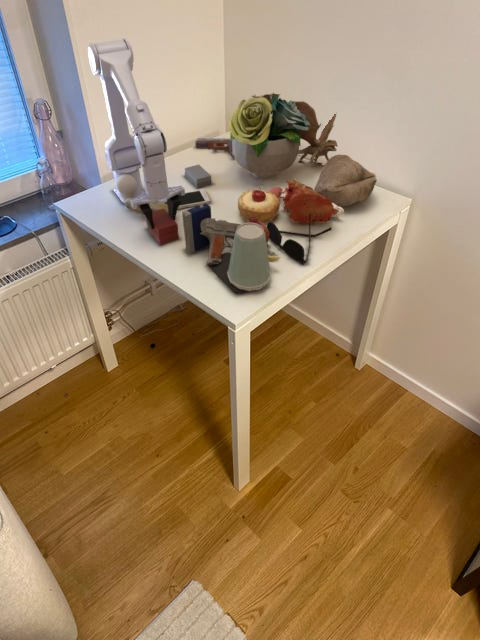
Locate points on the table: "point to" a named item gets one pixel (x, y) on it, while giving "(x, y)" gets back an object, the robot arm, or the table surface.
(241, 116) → the flower arrangement
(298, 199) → the seashell
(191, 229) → the cassette player
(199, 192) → the smartphone
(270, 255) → the toy
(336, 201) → the seashell
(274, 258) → the fox
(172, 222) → the oxblood book
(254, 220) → the fruit
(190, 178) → the grey stack
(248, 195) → the pastry
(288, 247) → the sunglasses
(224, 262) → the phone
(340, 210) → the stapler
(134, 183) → the light bulb
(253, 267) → the disposable coffee cup
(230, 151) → the handgun
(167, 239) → the oxblood stack
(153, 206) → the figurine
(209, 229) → the pistol
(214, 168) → the table surface
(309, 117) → the dragon
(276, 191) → the figurine
